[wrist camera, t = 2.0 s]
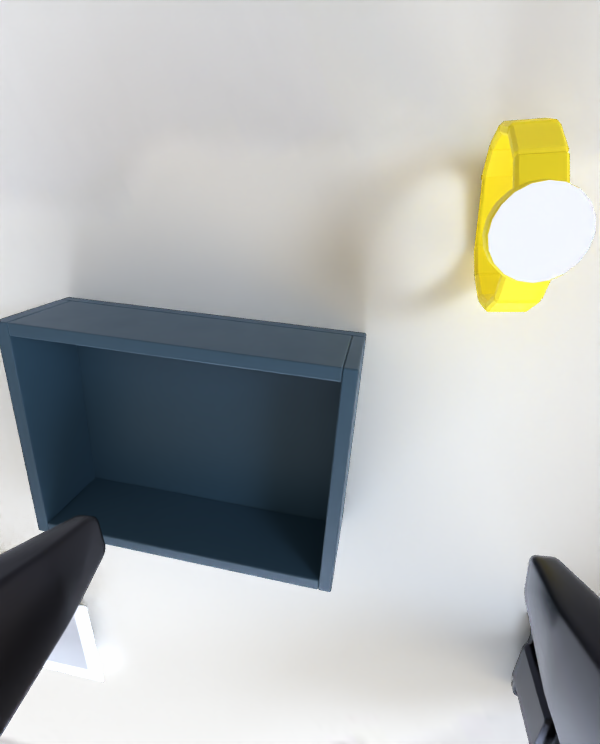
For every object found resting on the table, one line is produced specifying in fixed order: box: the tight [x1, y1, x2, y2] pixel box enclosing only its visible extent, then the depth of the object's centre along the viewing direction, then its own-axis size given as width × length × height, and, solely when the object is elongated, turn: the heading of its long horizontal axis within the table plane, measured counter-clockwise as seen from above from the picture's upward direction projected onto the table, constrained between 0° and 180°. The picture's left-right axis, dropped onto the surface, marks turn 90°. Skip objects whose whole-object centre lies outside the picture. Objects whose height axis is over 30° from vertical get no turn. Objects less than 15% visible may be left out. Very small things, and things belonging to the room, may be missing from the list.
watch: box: [474, 118, 596, 312], centre depth 15 cm, size 6×3×6 cm, turn 3°
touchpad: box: [43, 605, 104, 682], centre depth 33 cm, size 8×15×2 cm, turn 90°
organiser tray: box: [0, 297, 366, 592], centre depth 21 cm, size 15×11×5 cm
